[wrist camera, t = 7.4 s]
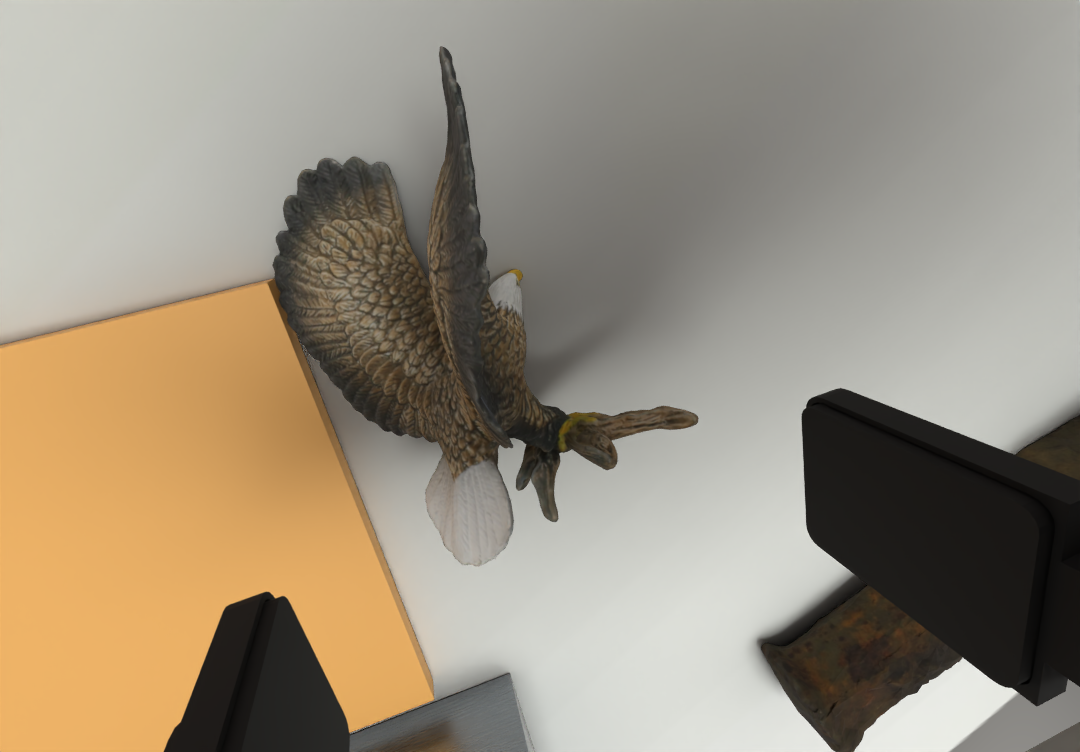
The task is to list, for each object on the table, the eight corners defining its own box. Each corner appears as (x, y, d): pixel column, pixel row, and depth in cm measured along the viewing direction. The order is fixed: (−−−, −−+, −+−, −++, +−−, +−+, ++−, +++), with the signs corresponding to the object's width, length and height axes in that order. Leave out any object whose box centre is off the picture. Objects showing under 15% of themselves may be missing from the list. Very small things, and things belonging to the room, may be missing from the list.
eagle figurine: (687, 311, 15) (493, -10, 10) (717, 548, 10) (373, 152, 5) (480, 395, 19) (261, 187, 14) (429, 600, 14) (62, 392, 9)
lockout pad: (274, 278, 13) (267, 282, 13) (432, 679, 18) (434, 699, 18) (-253, 407, 11) (-297, 421, 11) (82, 813, 16) (67, 842, 16)
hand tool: (779, 690, 24) (864, 799, 19) (745, 638, 22) (830, 744, 18) (1114, 441, 24) (1269, 492, 20) (1105, 373, 23) (1271, 413, 18)
